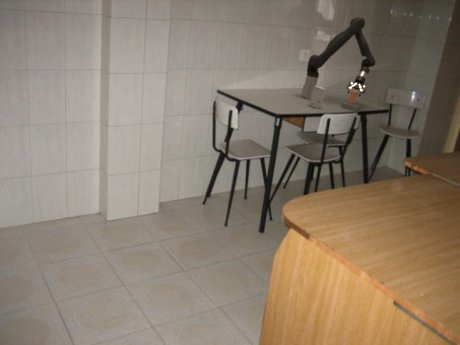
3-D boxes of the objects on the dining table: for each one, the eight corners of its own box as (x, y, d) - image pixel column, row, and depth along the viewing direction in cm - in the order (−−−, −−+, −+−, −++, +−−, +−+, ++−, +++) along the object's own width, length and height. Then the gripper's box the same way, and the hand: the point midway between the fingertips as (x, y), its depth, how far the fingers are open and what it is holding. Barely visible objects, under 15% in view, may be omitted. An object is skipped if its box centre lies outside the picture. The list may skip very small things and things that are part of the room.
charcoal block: (354, 111, 355) (355, 106, 353) (340, 108, 360) (342, 103, 358) (358, 109, 364) (359, 105, 363) (345, 106, 369) (346, 101, 367)
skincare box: (308, 105, 346) (313, 85, 340) (312, 104, 350) (317, 85, 345) (318, 108, 341) (323, 88, 336) (322, 108, 346) (327, 88, 340)
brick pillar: (353, 105, 357) (356, 92, 354) (347, 103, 359) (350, 90, 355) (354, 104, 361) (358, 91, 358) (348, 102, 363) (352, 90, 359)
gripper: (352, 73, 362) (344, 89, 357) (370, 77, 357) (362, 94, 351) (352, 79, 368) (344, 95, 363) (369, 83, 363) (362, 100, 358)
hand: (353, 94), depth 357 cm, fingers open, 8 cm apart
